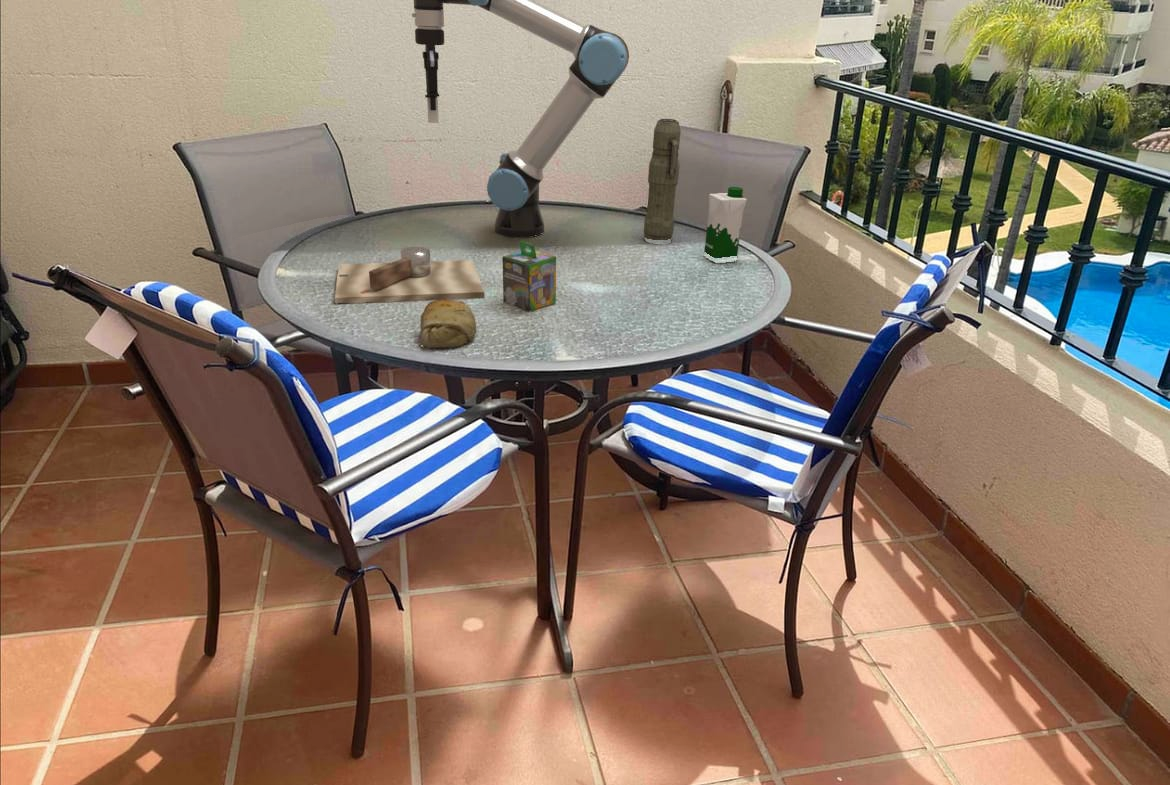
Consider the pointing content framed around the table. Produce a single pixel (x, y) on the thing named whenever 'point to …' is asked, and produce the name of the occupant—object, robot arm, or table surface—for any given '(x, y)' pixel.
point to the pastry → (447, 324)
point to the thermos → (662, 180)
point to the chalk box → (529, 278)
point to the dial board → (410, 284)
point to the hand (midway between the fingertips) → (433, 122)
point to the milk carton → (724, 223)
